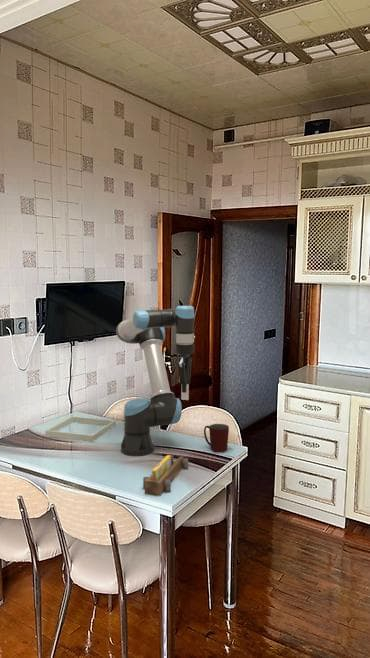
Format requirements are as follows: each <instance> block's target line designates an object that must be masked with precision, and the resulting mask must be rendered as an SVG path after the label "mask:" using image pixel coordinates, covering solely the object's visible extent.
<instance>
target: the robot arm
mask: <svg viewBox="0 0 370 658" xmlns="http://www.w3.org/2000/svg"><path fill="white" fill-rule="evenodd" d="M165 328H175V343H176V345H175V353H176V354H179V358H178V362H177V367H178V370H177V371H178V381H179V383H178V384H179V385H181V388H180V389H181V392H180V394H181V395H180V397H181V400H183V401H184V400H185V401H189V400H190V399H189V397H190V396H189V394H190V393H189V392H190V389H189V388H190V386H189V385H190V384H191V383H192V382H191V377H192V363H193V362H192V361H193V357H191V355H192V354H194V353H195V344H194V342H195V339H196V336H195V308H194V306H192V305H178V306H176V307H175V308H169V309H145V310H144V309H141V310H135V311H134V312H133V315H132V318H130V319H125V320H122V321H121V322H119V324H118V325H117V326H116V329H115V333H116V336H117V338H118V339H119V340H120V341H121V342H123V343H126V344H133V345H134V344H138V345H139V349H141V350H143V353H144V358H145V363H146V368H147V373H148V378H149V383H150V389H151V393H152V395H151V397H150V398H147V397H138V398H134V399H130V400H128V401H126V403H125V404H124V409H123V410H124V411H123V418H124V421H123V422H124V427H123V428H124V429H123V431H124V435H123V439H122V442H121V444H120V452H121V453H122V454H123V455H126V456H131V457H142V456H147V455H150V454H151V453H154V452H155V451H154V450H155V444H154V441H153V439H152V435H151V428H152V427H159V426H167V425H168V426H170V425H174V424H177V423H179V421H180V420H181V418H182V412H183V411H182V410H183V408H182V401H181V400H180V398H177V397H176V395H175V393H174V392H173V391H171V388H170V382H169V379H168V374H167V369H166V364H165V361H164V355H163V351H162V346H163V344H164V341H165V340H166V330H165Z"/></svg>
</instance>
